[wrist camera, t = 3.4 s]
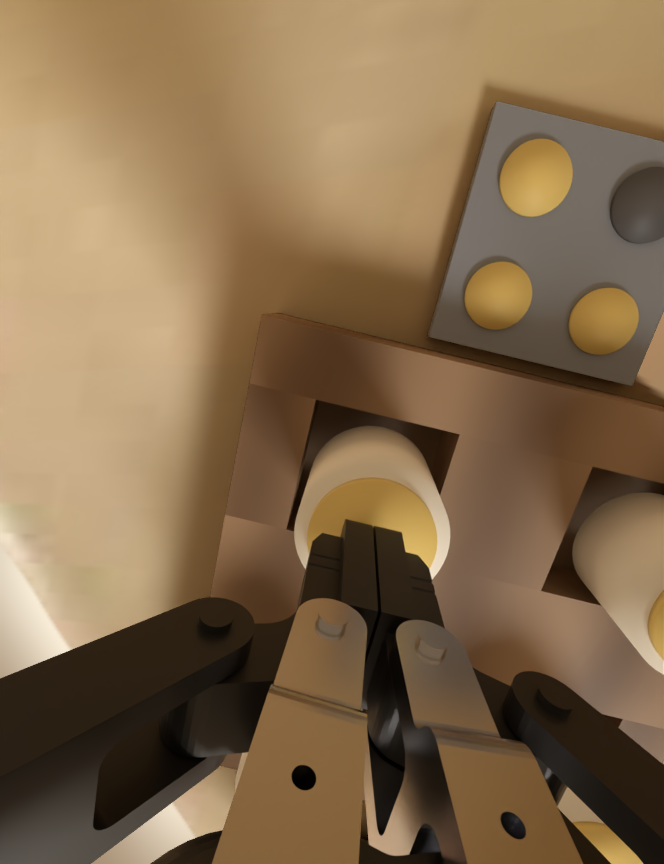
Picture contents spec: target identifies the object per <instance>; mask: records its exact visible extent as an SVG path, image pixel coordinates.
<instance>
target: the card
mask: <svg viewBox="0 0 664 864" xmlns="http://www.w3.org/2000/svg"><path fill="white" fill-rule="evenodd" d="M663 312H664V141H660V140H656V139H651V138H647V137H643V136H639V135H635V134H631V133H627V132H623V131H619V130H614V129H610V128H606V127H602V126H598V125H594V124H590V123H586V122H581V121H577V120H573V119H569V118H565V117H561V116H557V115H553V114H549V113H544V112H540V111H536V110H532V109H528V108H524V107H520V106H516V105H512V104H507V103H503V102H499V101H497V102H496V104H495V105H494V107H493V108H492V112H491V115H490V119H489V122H488V126H487V129H486V133H485V136H484V140H483V143H482V147H481V150H480V154H479V157H478V161H477V164H476V168H475V171H474V175H473V178H472V182H471V185H470V189H469V192H468V196H467V199H466V203H465V206H464V210H463V213H462V217H461V220H460V224H459V227H458V231H457V234H456V238H455V241H454V245H453V248H452V252H451V255H450V259H449V262H448V266H447V269H446V273H445V276H444V280H443V283H442V287H441V290H440V294H439V297H438V301H437V304H436V308H435V311H434V315H433V318H432V322H431V325H430V329H429V332H428V336H429V337H432V338H436V339H440V340H444V341H448V342H452V343H456V344H461V345H465V346H469V347H473V348H477V349H481V350H485V351H489V352H494V353H498V354H502V355H506V356H510V357H514V358H518V359H522V360H527V361H531V362H535V363H539V364H543V365H547V366H551V367H555V368H560V369H564V370H568V371H572V372H576V373H580V374H584V375H588V376H593V377H597V378H601V379H605V380H609V381H613V382H617V383H621V384H626V385H630V386H632V385H633V383H634V381H635V378H636V376H637V373H638V371H639V369H640V366H641V364H642V362H643V359H644V357H645V354H646V352H647V350H648V347H649V345H650V342H651V340H652V338H653V335H654V333H655V331H656V328H657V326H658V323H659V321H660V319H661V316H662V314H663Z"/></svg>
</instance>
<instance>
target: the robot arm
mask: <svg viewBox="0 0 664 864" xmlns="http://www.w3.org/2000/svg"><path fill="white" fill-rule="evenodd" d="M361 708H362V709H366V710H367V713H366V712H365V711H361ZM367 717H368V721H367ZM245 752H248V755H247V758H246V761H245V764H244V767H243V770H242V773H241V776H240V779H239V782H238V785H237V788H236V792H235V795H234V798H233V801H232V804H231V807H230V810H229V813H228V816H227V819H226V822H225V825H224V828H223V830H222V831H217V832H213V833H209V834H205V835H203V836H200V837H197V838H195V839H192V840H189V841H187V842H185V843H183V844H181V845H179V846H177V847H176V848H174V849H172V850H170V851H168V852H167V853H165V854H164V855H162V856H161V857H160V858H158V859H157V860H155V861H154V862H152V863H151V864H611V863H610V862H609V861H608V860H607V859H606V858H605V857H604V856H603V855H602V853H601V852H600V851H599V850H598V849H597V848H596V847H595V846H594V845H593V844H592V843H591V842H590V841H589V840H588V839H587V838H586V837H585V836H584V835H583V834H582V833H581V831H580V830H579V829H578V828H577V827H576V826H575V825H574V824H573V823H572V822H571V821H570V820H569V819H568V818H567V817H566V816H565V815H564V814H563V813H562V812H561V811H560V810H559V808H558V807H557V806H558V804H559V802H560V800H561V799H562V797H563V795H564V793H565V791H566V789H567V787H568V788H569V789H570V790H571V791H572V792H573V793H574V794H575V795H576V796H577V797H578V798H579V799H580V800H581V801H582V802H583V803H584V804H585V805H586V806H588V807H589V808H590V809H591V810H592V811H593V812H594V813H595V814H596V815H597V816H598V817H599V818H600V819H601V820H602V821H603V822H604V823H605V824H606V825H607V826H608V827H609V828H610V829H611V830H612V831H613V832H614V833H615V834H616V835H617V836H618V837H619V838H620V839H621V840H622V841H623V842H624V843H625V844H626V845H627V846H628V847H629V848H630V849H631V850H632V851H633V852H634V853H635V854H636V855H637V856H638V857H639V859H640V860H641V861H642V863H643V864H664V765H663V764H662V763H661V762H660V761H659V760H657V759H656V758H655V757H654V756H652V755H651V754H650V753H649V752H648V751H646V750H645V749H644V748H643V747H641V746H640V745H639V744H638V743H637V742H635V741H634V740H633V739H632V738H630V737H629V736H628V735H627V734H626V733H624V732H623V731H622V730H621V729H619V728H618V727H617V726H616V725H615V724H613V723H612V722H611V721H610V720H608V719H607V718H606V717H605V716H604V715H602V714H601V713H600V712H599V711H597V710H596V709H595V708H594V707H593V706H591V705H590V704H589V703H588V702H586V701H585V700H584V699H583V698H582V697H580V696H579V695H578V694H577V693H575V692H574V691H573V690H572V689H570V688H569V687H568V686H566V685H565V684H563V683H562V682H560V681H559V680H557V679H555V678H553V677H551V676H548V675H546V674H543V673H540V672H535V671H523V672H520V673H518V674H517V675H516V676H515V677H514V679H513V681H512V683H511V686H509V685H507V684H505V683H503V682H501V681H499V680H496V679H494V678H492V677H490V676H488V675H486V674H484V673H482V672H480V671H478V670H477V669H475V668H473V667H472V665H471V663H470V660H469V658H468V655H467V653H466V650H465V648H464V646H463V645H462V644H461V642H460V641H459V640H458V639H457V638H456V637H455V636H454V635H453V634H452V633H450V632H449V631H448V630H446V629H445V627H444V623H443V620H442V616H441V612H440V608H439V604H438V601H437V597H436V595H435V589H434V585H433V584H432V578H431V574H430V570H429V568H428V566H427V565H426V564H425V563H424V562H423V560H422V559H421V558H420V557H419V556H418V555H416V554H411V553H407V552H406V551H405V546H404V541H403V535H402V532H399V531H395V530H391V529H387V528H382V527H378V526H374V527H373V526H372V525H369V524H365V523H361V522H356V521H352V520H348V519H345V521H344V524H343V528H342V531H341V535H340V537H338V536H334V535H330V534H325V533H321V534H320V535H319V536H318V537H317V538H316V539H314V540H313V541H312V545H311V549H310V553H309V557H308V562H307V566H306V570H305V574H304V578H303V582H302V586H301V590H300V595H299V600H298V606H297V610H296V612H295V613H294V614H293V615H292V616H290V617H289V618H287V619H285V620H282V621H279V622H274V623H257V624H255V623H254V619H253V617H252V615H251V614H250V612H249V611H248V610H247V609H246V608H245V607H243V606H242V605H240V604H239V603H237V602H234V601H232V600H229V599H225V598H218V597H209V598H202V599H198V600H194V601H192V602H189V603H187V604H184V605H182V606H179V607H177V608H174V609H172V610H169V611H167V612H164V613H162V614H159V615H157V616H154V617H152V618H150V619H147V620H145V621H142V622H140V623H137V624H135V625H132V626H130V627H127V628H125V629H122V630H120V631H117V632H115V633H112V634H110V635H107V636H105V637H102V638H100V639H97V640H95V641H92V642H90V643H87V644H85V645H82V646H80V647H77V648H75V649H73V650H70V651H68V652H65V653H63V654H60V655H58V656H55V657H53V658H50V659H48V660H45V661H43V662H40V663H38V664H35V665H33V666H30V667H28V668H25V669H23V670H20V671H18V672H15V673H13V674H11V675H8V676H5V677H3V678H1V679H0V864H91V863H92V862H94V861H95V860H96V859H98V858H99V857H100V856H102V855H103V854H104V853H106V852H107V851H108V850H109V849H111V848H112V847H114V846H115V845H116V844H118V843H119V842H120V841H122V840H123V839H124V838H126V837H127V836H128V835H129V834H131V833H132V832H134V831H135V830H136V829H137V828H139V827H140V826H141V825H143V824H144V823H145V822H147V821H148V820H149V819H151V818H152V817H153V816H155V815H156V814H157V813H159V812H160V811H161V810H163V809H164V808H165V807H167V806H168V805H169V804H171V803H172V802H173V801H175V800H176V799H177V798H179V797H180V796H181V795H183V794H184V793H185V792H187V791H188V790H189V789H191V788H192V787H193V786H195V785H196V784H197V783H199V782H200V781H201V780H203V779H204V778H205V777H207V776H208V775H209V774H211V773H212V772H213V771H214V770H216V769H217V768H218V767H219V766H220V765H221V763H222V762H223V761H224V759H225V757H226V756H227V755H228V754H236V753H245ZM363 785H364V792H365V804H366V816H367V828H368V840H369V844H367V843H365V842H363V841H361V840H360V833H361V817H362V801H363Z"/></svg>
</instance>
